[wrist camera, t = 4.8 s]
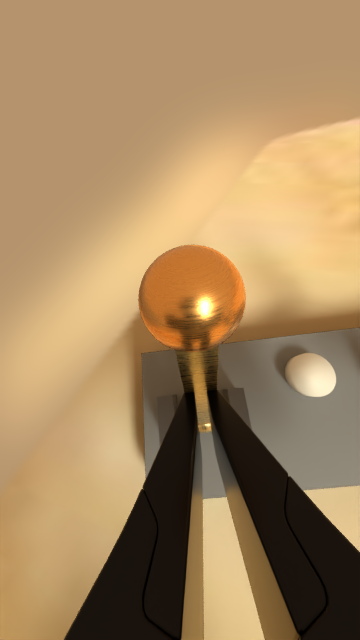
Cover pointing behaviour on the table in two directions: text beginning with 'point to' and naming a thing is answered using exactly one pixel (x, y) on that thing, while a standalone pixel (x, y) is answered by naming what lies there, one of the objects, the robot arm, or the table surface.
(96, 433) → the table surface
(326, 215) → the table surface
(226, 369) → the switch panel
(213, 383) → the brass lever
